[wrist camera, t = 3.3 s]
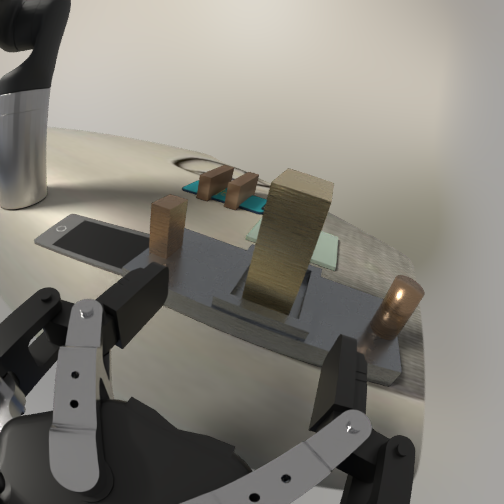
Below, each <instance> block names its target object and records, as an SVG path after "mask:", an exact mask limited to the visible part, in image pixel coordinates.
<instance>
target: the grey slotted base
mask: <svg viewBox="0 0 504 504" xmlns="http://www.w3.org/2000/svg"><path fill="white" fill-rule="evenodd" d="M187 203H188V200H187V199H184V198H181V197H178V196H174V195H171V194H170V195H167V196H165V197H163V198H161V199H159V200H157V201H155V202H153V203H152V205H151V221H150V243H149V248H148V249H146V250H145V251H143V252H142V253H141V254H139V255H138V256H137V257H135V258H134V259H133V260H131V261H130V262H129V263H127V264H126V265H125V266H123V267H122V271H123V277H124V276H125V275H126V274H127V273H129V272H130V271H132V270H135V269H137V268H140V267H141V268H143V269H144V268H145V267H146V266H148V265H149V264H150V263H151V262H157V263H159V264H161V265H164V266H166V267H168V268H169V285H168V296H167V299H166V301H165V303H164V305H165V306H167V307H169V308H171V309H173V310H175V311H177V312H180V313H182V314H184V315H186V316H188V317H191V318H193V319H195V320H197V321H200V322H202V323H204V324H207V325H209V326H211V327H214V328H216V329H218V330H221V331H223V332H226V333H228V334H231V335H233V336H235V337H238V338H240V339H243V340H246V341H248V342H251V343H253V344H256V345H259V346H261V347H264V348H267V349H269V350H272V351H275V352H277V353H280V354H283V355H286V356H289V357H292V358H295V359H297V360H300V361H303V362H306V363H309V364H312V365H316V366H319V367H322V365H323V362H324V360H325V358H326V356H327V354H328V353H329V351H330V349H331V348H332V346H333V345H334V343H335V341H336V340H337V338H338V336H339V335H340V334H343V335H346V336H349V337H352V338H355V339H357V352H359V353H362V354H364V356H365V359H366V361H367V364H368V365H367V381H370V382H373V383H377V384H381V385H385V386H390V385H391V384H392V383H393V382H394V381H395V379H396V378H397V377H398V376H399V375H400V374H401V373H402V371H401V361H400V352H399V344H398V337H397V335H398V334H399V333H400V331H401V330H402V328H403V327H404V325H405V324H406V322H407V321H408V319H409V318H410V316H411V315H412V313H413V312H414V310H415V309H416V307H417V306H418V304H419V302H420V301H421V299H422V298H423V296H424V290H423V288H422V287H421V286H420V285H419V284H418V283H417V282H416V281H414V280H413V279H411V278H409V277H407V276H403V275H398V276H396V278H395V280H394V281H393V283H392V285H391V287H390V289H389V290H388V292H387V294H386V296H385V298H384V299H381V298H378V297H376V296H373V295H370V294H367V293H364V292H362V291H359V290H356V289H353V288H351V287H348V286H345V285H342V284H339V283H337V282H334V281H331V280H328V279H325V278H323V277H321V272H322V269H320V268H317V267H314V266H312V265H309V266H308V268H307V271H306V273H305V276H304V279H303V281H302V284H301V286H300V289H299V291H298V294H297V296H296V299H295V301H294V304H293V306H292V309H291V311H290V313H289V316H288V315H285V314H283V313H280V312H277V311H274V310H272V309H269V308H266V307H264V306H261V305H258V304H256V303H253V302H250V301H248V300H245V299H243V298H242V294H243V291H244V287H245V283H246V279H247V275H248V271H249V267H250V263H251V260H252V256H253V252H254V248H255V245H253V244H252V245H251V246H250V247H249V249H248V250H244V249H242V248H239V247H236V246H233V245H230V244H228V243H225V242H222V241H219V240H216V239H214V238H211V237H208V236H205V235H203V234H200V233H197V232H194V231H191V230H189V229H186V228H184V227H185V218H186V210H187Z"/></svg>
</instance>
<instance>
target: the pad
mask: <svg viewBox="0 0 504 504" xmlns="http://www.w3.org/2000/svg"><path fill="white" fill-rule="evenodd" d="M261 221H262V218H261V219H260V220H259V222H258V223H257V224H256V225H255V226H254V227H253V229H252V230H251V231H250V232H249V233H248V235H247V236H246V240H249V241H252V242H255V243H256V240H257V236H258V232H259V229H260V225H261ZM337 247H338V237H336V236H334V235H331V234H328V233H325V232H322V231H321V233H320V236H319V239H318V241H317V244H316V247H315V250H314V252H313V255H312V258H311V260H310V262H311V263H314V264H317V265H320V266H322V267H325V268H328V269H331V270H334V271H335V268H336V260H337Z"/></svg>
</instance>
